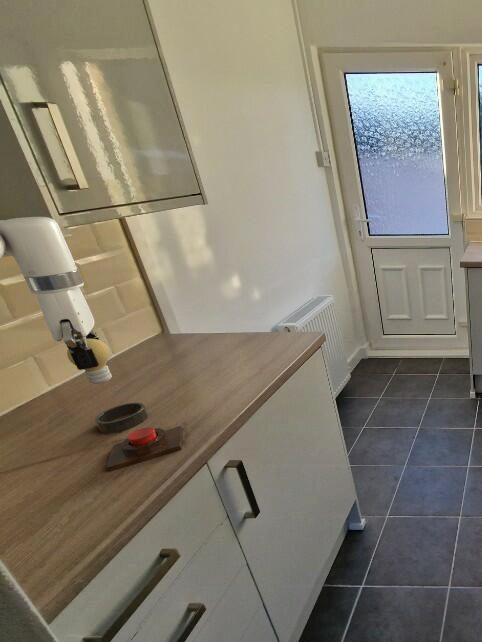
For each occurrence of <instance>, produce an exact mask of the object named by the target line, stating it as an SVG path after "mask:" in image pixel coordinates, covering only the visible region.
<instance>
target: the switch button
mask: <svg viewBox="0 0 482 642" xmlns="http://www.w3.org/2000/svg"><path fill="white" fill-rule="evenodd" d="M156 437H157V434H156V432H155V430H154V427H152V426H147V427H142V428H139V429H136V430H134V431H132V432H131V433H130V434H128V435H127V438H128V440H129V442H130V444H131V445H132V446H139V445H142V444H145V443H148V442H150V441H152V440H154V439H155V438H156Z"/></svg>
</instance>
